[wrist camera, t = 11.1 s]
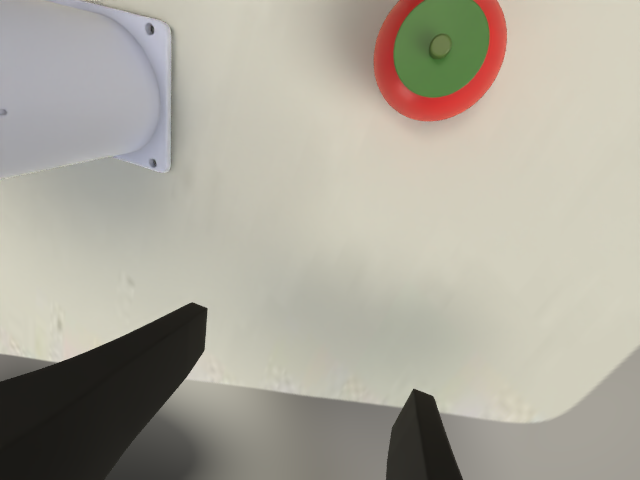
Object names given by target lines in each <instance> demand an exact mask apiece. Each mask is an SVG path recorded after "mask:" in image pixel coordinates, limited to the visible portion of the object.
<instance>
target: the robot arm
mask: <svg viewBox="0 0 640 480" xmlns="http://www.w3.org/2000/svg"><path fill="white" fill-rule="evenodd" d="M152 25H153V27H154V33H153V34H152V33H151V26H152ZM107 157H114V158H117V159H120V160H123V161H126V162H129V163H132V164H135V165H138V166H141V167H144V168H147V169H150V170H153V171H156V172H159V173H165V172H168V171H169V170H170V168H171V29H170V27H169V25H168V24H167V23H166V22H164V21H161V20H158V19H154V18H150V17H146V16H142V15H138V14H134V13H130V12H126V11H122V10H118V9H114V8H110V7H106V6H102V5H98V4H94V3H90V2H86V1H82V0H0V180H1V179H6V178H11V177H16V176H21V175H25V174H30V173H35V172H40V171H44V170H49V169H54V168H59V167H64V166H68V165H73V164H78V163H83V162H87V161H92V160H97V159H102V158H107ZM154 160H155V161H156V165H155V163H154ZM207 309H208V308H205V307H203V306H200V305H198V304H195V303H189V304H187V305H185V306H183V307H181V308H179V309H177V310H175V311H173V312H171V313H169V314H167V315H165V316H163V317H161V318H159V319H157V320H155V321H153V322H151V323H149V324H147V325H145V326H143V327H141V328H139V329H137V330H135V331H133V332H130V333H128V334H126V335H124V336H122V337H120V338H118V339H115V340H113V341H111V342H108V343H106V344H104V345H102V346H99V347H97V348H95V349H92V350H90V351H88V352H85V353H83V354H80V355H78V356H75V357H73V358H70V359H67V360H65V361H62V362H59V363H56V364H54V365H51V366H48V367H45V368H42V369H39V370H36V371H33V372H30V373H27V374H24V375H21V376H17V377H14V378H11V379H8V380H5V381H1V382H0V480H104V479H105V478H106V476H107V475H108V474H109V472H110V471H111V469H112V468H113V467H114V465H115V464H116V463H117V461H118V460H119V458H120V457H121V456H122V454H123V453H124V451H125V450H126V449H127V448H128V446H129V445H130V444H131V442H132V441H133V440H134V439H135V438H136V436H137V435H138V434H139V433H140V432H141V430H142V429H143V428H144V427H145V426H146V425H147V423H148V422H149V421H150V420H151V419H152V417H153V416H154V415H155V414H156V413H157V412H158V410H159V409H160V408H161V407H162V406H163V405H164V403H165V402H166V401H167V400H168V399H169V397H170V396H171V395H172V394H173V392H175V390H176V389H177V388H178V387H179V385H180V384H181V383H182V382H183V381H184V380H185V378H186V377H187V376H188V374H189V373H190V371H191V370H192V368H193V367H194V366H195V364H196V363H197V361H198V359H199V358H200V356H201V355H202V353H203V352H204V349H205V336H206V322H207ZM386 480H463V479H462V476H461V473H460V470H459V468H458V466H457V463H456V460H455V457H454V455H453V452H452V449H451V446H450V444H449V441H448V438H447V435H446V432H445V429H444V427H443V423H442V420H441V417H440V414H439V411H438V408H437V405H436V402H435V399H434V397H433V396H431V395H429V394H426V393H424V392H421V391H418V390H416V389H413V391H412V392H411V394H410V396H409V398H408V400H407V401H406V403H405V405H404V407H403V409H402V411H401V412H400V414H399V416H398V418H397V420H396V422H395V424H394V425H393V427H392V432H391V439H390V445H389V452H388V459H387V472H386Z"/></svg>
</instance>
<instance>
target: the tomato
mask: <svg viewBox="0 0 640 480" xmlns="http://www.w3.org/2000/svg"><path fill="white" fill-rule="evenodd" d="M506 43H507V29H506V22H505V18H504V15H503V11H502V9H501V7H500V5H499V3H498V2H497V0H399V1H398V3H397V4H396V5H395V6H394V7H393V8H392V10H391V11H390V13H389V14H388V15H387V17H386V19H385V21H384V22H383V24H382V27H381V29H380V31H379V34H378V37H377V40H376V45H375V50H374V72H375V78H376V81H377V85H378V87H379V89H380V92H381V93H382V95H383V97H384V98H385V100H386V101H387V102H388V104H389V105H390V106H391V107H393V108H394V109H395V110H396V111H398V112H399V113H400V114H402V115H404V116H406V117H409V118H412V119H415V120H420V121H438V120H443V119H447V118H450V117H453V116H455V115H457V114H460V113H462V112H463V111H465V110H466V109H468V108H470V107H471V106H472V105H473V104H475V103H476V102H477V101H478V100H479V99H480V98H481V97H482V96H483V95H484V94H485V93H486V91H487V90H488V89H489V88H490V86H491V85H492V83H493V82H494V80H495V78H496V76H497V74H498V72H499V70H500V68H501V65H502V62H503V59H504V55H505V51H506Z"/></svg>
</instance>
